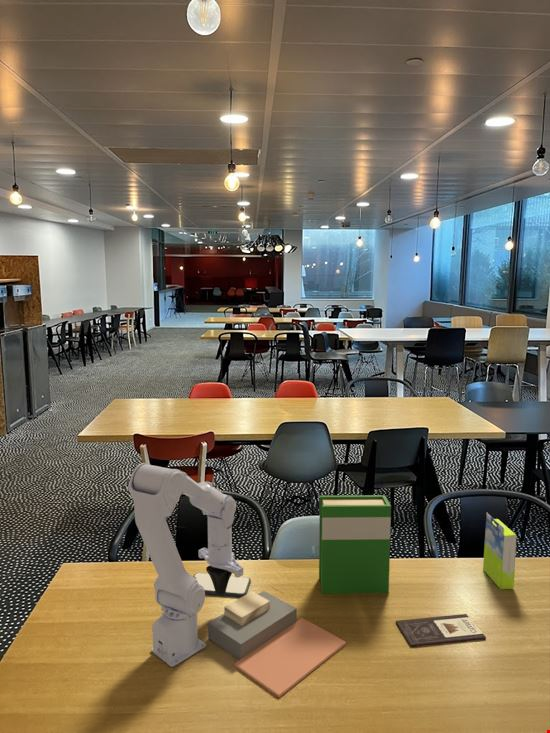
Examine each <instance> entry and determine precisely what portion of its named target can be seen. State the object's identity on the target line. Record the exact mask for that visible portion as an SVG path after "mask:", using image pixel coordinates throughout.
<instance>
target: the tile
mask: <svg viewBox="0 0 550 733" xmlns="http://www.w3.org/2000/svg"><path fill="white" fill-rule="evenodd" d="M258 594H259V593H256V592H255V591H250V592H247V594H246V595H245V596H243V597H241V598H240V597H238V598H237V599H236V600H234V601H232V602H231V603H229V604H227V605H225V606H224V608H223V609H224V610H223V611H224V613H223V614H224V615H225V616H227V617H229V618H230V619H232V620H234V621H235V622H237V623H238V624H240V625H242V626H243V625H244V624H246V623H247V622H249V621H251V620H252V619H254V618H256V617H257V616H259V615H261V614H262V613H264V612H265V611H267V610H269V609H270V601H269V600H267V599H265V598H264V597H262V596H260V595H258Z"/></svg>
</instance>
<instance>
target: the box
mask: <svg viewBox="0 0 550 733" xmlns="http://www.w3.org/2000/svg"><path fill="white" fill-rule="evenodd" d="M485 515H486V516H485V517H486V518H485V533H484V534H485V535H484V548H483V565H482V570H483V571H484V572H485V573H486V574H487V576H488V577H489V578H490V579H491V580H492V581H493V583H495V585H496V586H497V587H498V588H499V590H513V589H514V588H515V571H516V569H515V568H516V552H517V534H516V533H514V531H512V530H511V529H510V528H508V527H509V526H507V525H506V524H504V523H503V522H502V521H501V520H500V519H498V518H494V517H493V516H492V515H490V514H489V513H488V512H486V513H485Z"/></svg>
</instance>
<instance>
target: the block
mask: <svg viewBox="0 0 550 733" xmlns="http://www.w3.org/2000/svg"><path fill="white" fill-rule="evenodd" d="M257 594H258V595H260V596H262V597H264V598H265V599H267V600H269V601H270V609H269V610H267V611H265V612H264V613H262V614H261V615H259V616H257V617H256V618H254V619H252V620H251V621H249V622H247V623H246V624H244V625H243V626H242V625H240V624H238V623H237V622H235V621H234V620H232V619H230V618H229V617H227V616H225V615H224V613H222V614H221V615H219V616H217V617H216V618H213V619H212V620H210V621H209V622H207V629H208V631H207V635H208V636H207V638H208V640H210V641H211V642H212V643H214V644H215V645H216V646H218V647H220V648H221V649H222V648H223V649H222V650H224V651H225V650H226V651H225V652H227V653H228V654H230V655H231V656H233V657H235V659H237V661H239V660H240V659H242V658H243V657H245V656H246V655H248V654H249V653H251V652H252V651H254V650H255V649H257V648H258V647H260V646H261V645H263V644H264V643H266V642H267V641H268V640H270V639H271V638H273V637H274V636H276V635H277V634H279V633H280V632H282V631H283V630H285V629H286V628H288V627H289V626H291V625H292V624H294V623H295V622H297V621H298V620H297V618H298V616H297V615H298V613H297V612H298V611H297V610H298V609H297V608H296V606H293V605H292V604H289V603H287V602H286V601H284V600H282V599H281V598H279V597H277V596H275V595H273V594H271V593H270V592H267V591H265V590H263V591H261V592H259V593H257Z"/></svg>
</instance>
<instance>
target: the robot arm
mask: <svg viewBox="0 0 550 733" xmlns="http://www.w3.org/2000/svg"><path fill="white" fill-rule="evenodd" d="M127 488H128V491H129V493H130V495H131V498H132V500H133V508H134V511H133V512H134V521H135V524H136V527H137V529H138V531H139V535H140V536H141V539H142V541H143V543H144V545H145V549H146V550H147V552H148V555H149V557H150V560H151V561H152V564H153V566H154V569H155V572H156V574H157V576H156V578H155V581H154V583H153V587H154V590H155V594H154V595H155V597H154V598H155V602H156V603H157V604H158V605H160V609H161V610H160V611H161V612H162V614H161V615H160V616H159V618H157V619H156V620H155V621H153V624H152V628H151V629H152V647H151V649H150V651H151V652H152V653H153V654H154V655H155V656H157V657H158V658H159V659H161V660H162V661H163V662H164V663H166V664H167V665H168V666H170V667H172V668H174V667H175V666H176V665H178V664H180V663H182V662H183V661H185V660H186V659H187V660H188V658H190V657H192V656H193V655H195V654H196V653H198V652H199V651H201V650H203V649H205V648H206V647H207V644H206V643H205V642H204V641H202V640H201V639H200V638H198V636H199V635H198V634H199V633H198V629H199V628H198V614H199V612H200V611H201V610H202V608H203V606H204V604H205V601H206V600H205V599H206V595H205V590H204V588H203V586H201V585H199V584H198V581H197V579H196V578H194V577H193V576H194V575H192V574H191V573H189V571H187V570H186V569H185V565H184V563H183V561H182V558H181V556H180V554H179V551H178V548H177V546H176V543H175V540H174V538H173V537H174V536H173V535H172V532H171V531H170V530H171V529H170V528H169V525H168V522H167V519H166V518H168V517H171V515H172V513H173V511H174V510H175V507H176V506H177V503H178V502H179V500H180V497H181V496H182V495H185V496H186V497H188V498H189V502H190V504H191V505H192V506H193V507H195V508H198V509H199V510H201V512H202V514H203V516H205V515H206V516H207V548H206V547H202V548H200V549H198V558H199V559H204V560H205V562H207V564H208V566H206V568H205V571H206V572H207V574H209V575H210V577H211V580H212V582H213V585H214V589H215V592H216V594H217V595H218V596H219V597H222V596H221V595H223V594H225V593H226V588H227V585H228V581H229V579H230V576H232V575H233V574H234V576H235V577H237V578H238V577H243V575H244V566H242V565H240V564H239V563H238V561H237V560H236V558H235V553H233V551H232V550H233V545H232V543H233V541H232V540H233V539H232V538H233V537H232V525H233V524H234V521H235V520H234V518H235V517H234V516H235V514H236V509H237V503H236V500H235V499H234V498H233V496H232V495H230V494H229V495H228V494H224V493H223V492H222V490H221V489H219V488H216V487H214V486H213V483H212V482H210V481H207V480H206V481H204V482H202V481H201V482H196V481H195V480H194V479H192V477H190V476H189V475H188V474H187V473H186V472H184V471H181V470H180V469H177V468H168V467H162V466H158V465H152V464H149V463H146V462H142V463H139V464H138V465H136V467H135V468H134V469H133V471H132V473H131V476H130V480H129V482H128V486H127ZM218 596H217V597H218Z"/></svg>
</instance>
